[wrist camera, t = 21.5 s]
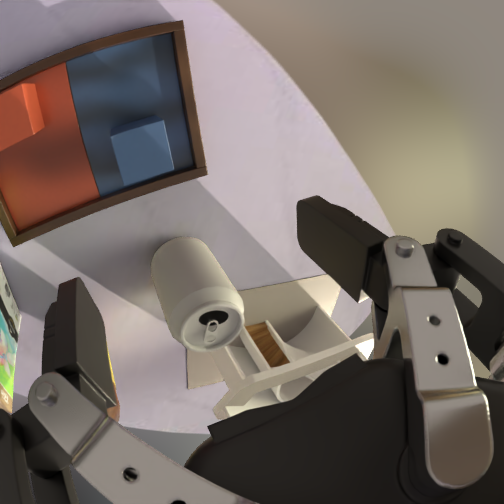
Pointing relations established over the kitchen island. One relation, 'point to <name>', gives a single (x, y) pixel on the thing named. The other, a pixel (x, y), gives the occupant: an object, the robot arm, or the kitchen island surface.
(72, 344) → the robot arm
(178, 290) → the can
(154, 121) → the slate-blue block
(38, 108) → the terracotta block
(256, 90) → the kitchen island surface
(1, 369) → the tea box
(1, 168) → the sorting tray
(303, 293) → the architectural model
